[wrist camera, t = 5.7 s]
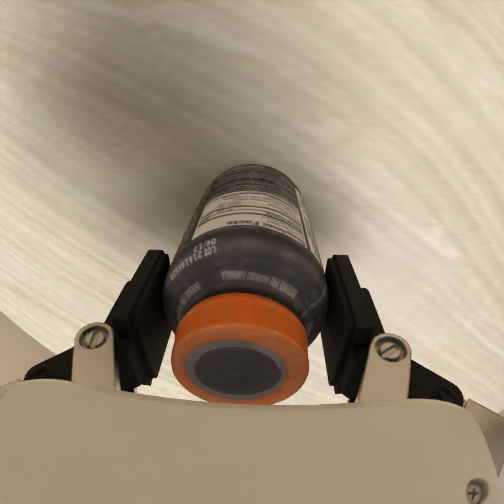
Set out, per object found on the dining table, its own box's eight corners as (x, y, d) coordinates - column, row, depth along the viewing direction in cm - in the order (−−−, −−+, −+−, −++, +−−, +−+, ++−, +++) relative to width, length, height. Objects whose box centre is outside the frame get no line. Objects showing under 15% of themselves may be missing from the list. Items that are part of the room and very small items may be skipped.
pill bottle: (257, 272, 20) (248, 439, 10) (182, 216, 18) (105, 370, 9) (326, 209, 18) (383, 370, 8) (247, 140, 16) (214, 250, 6)
